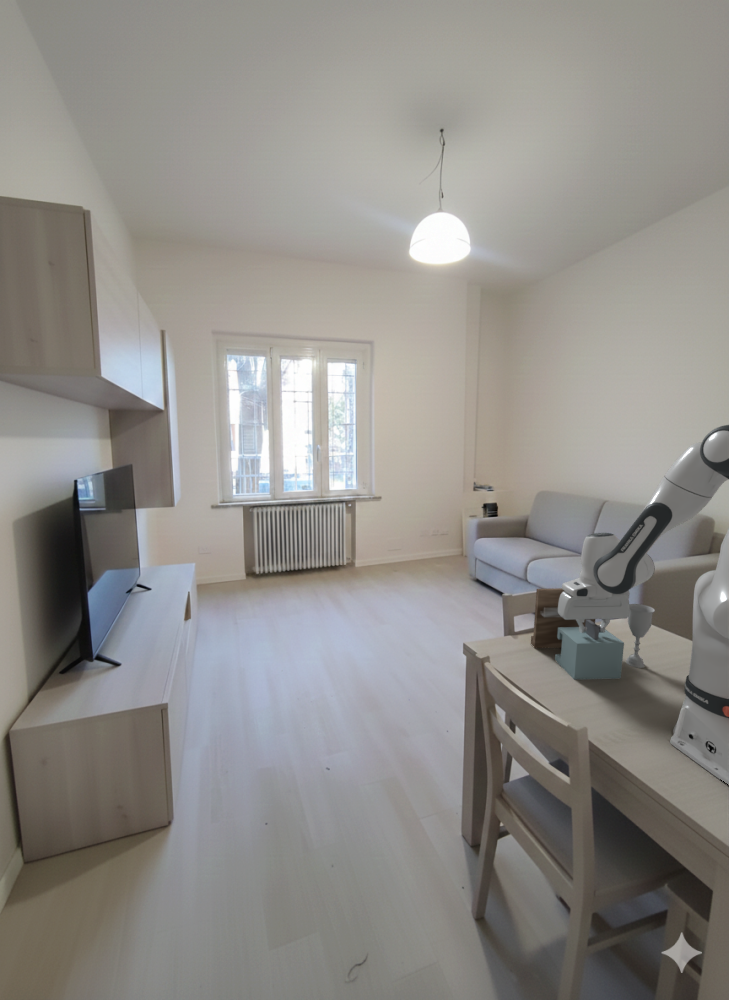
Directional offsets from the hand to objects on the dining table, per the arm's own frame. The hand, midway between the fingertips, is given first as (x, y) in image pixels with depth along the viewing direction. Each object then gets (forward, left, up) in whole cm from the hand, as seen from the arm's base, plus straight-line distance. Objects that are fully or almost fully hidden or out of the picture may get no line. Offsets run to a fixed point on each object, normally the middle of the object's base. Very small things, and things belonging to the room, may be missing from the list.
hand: (591, 632), depth 132 cm
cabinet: (+1, 0, -12) cm, 12 cm away
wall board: (+14, 0, -12) cm, 19 cm away
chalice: (+3, -17, -12) cm, 21 cm away
